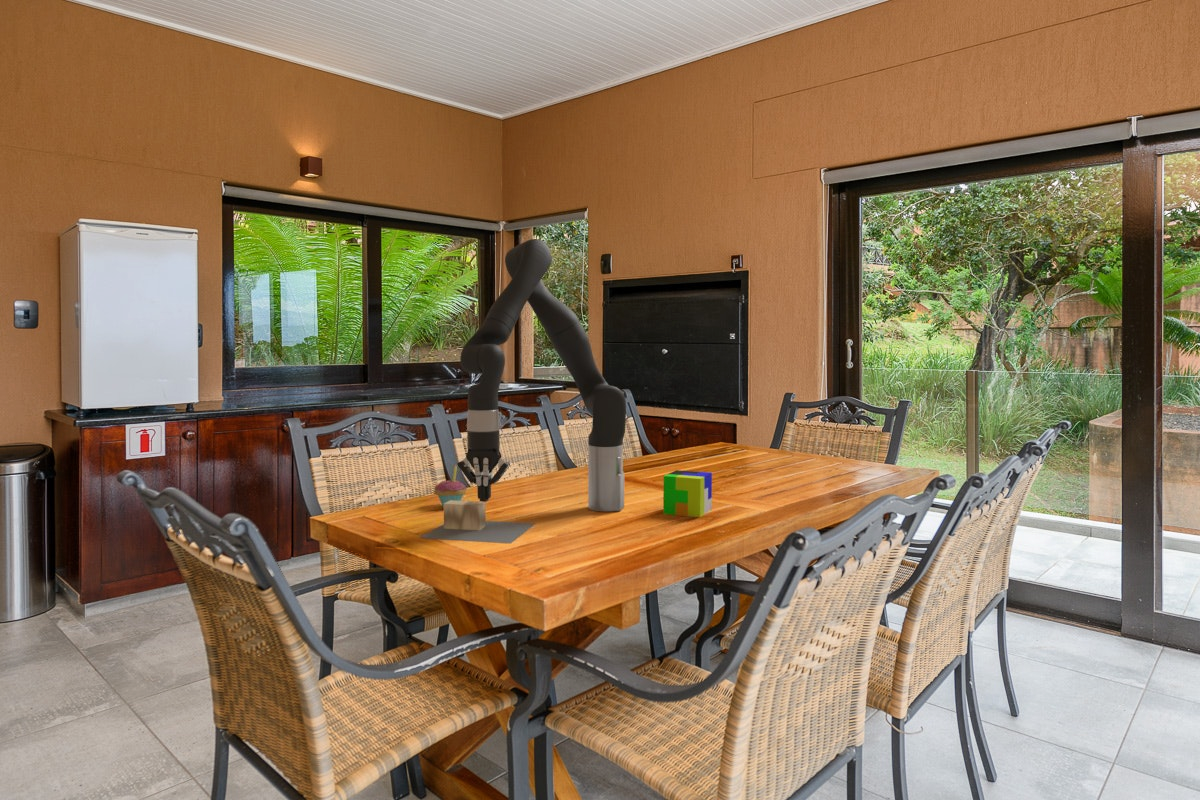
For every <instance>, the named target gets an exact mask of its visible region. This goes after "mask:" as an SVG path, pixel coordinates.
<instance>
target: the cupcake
mask: <svg viewBox="0 0 1200 800" xmlns="http://www.w3.org/2000/svg"><path fill="white" fill-rule="evenodd" d="M457 469H458V462H456V463H455V465H454V468H453V475H452V476H453V477H452V480H443V481H441V482H439V483H438V484H436V486H435V487H434V491H433V493H434V494H435V495H437V497H438V498H439V501H440V503H441V506H443V508H444V503H446V502H448V501H450V500H454V501H463V497H464V495H465V494H466V491H467V489H468V488H467V486H466V485H465V484H464V483H463V482H461V481H459V480H456V478H457V477H456V476H457Z"/></svg>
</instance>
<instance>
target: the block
mask: <svg viewBox="0 0 1200 800" xmlns="http://www.w3.org/2000/svg"><path fill="white" fill-rule="evenodd" d="M486 521H487V520H486V502H483V501H473V500H472V501H471V500H461V501H454V500H450V501H448V502H446V503H444V507H443V524H444V529H462V530H481V529H482V528H484V527H485V526H486Z"/></svg>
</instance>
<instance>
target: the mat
mask: <svg viewBox="0 0 1200 800" xmlns="http://www.w3.org/2000/svg"><path fill="white" fill-rule="evenodd" d="M536 524H537V523H534V522H517V521H516V522H515V521H514V522H512V521H496V520H486V526H485V527H484V528H482V529H481V530H462V529H444V523H442V524H441V525H439V526H437V527H436V528H433V529H431V531H429V532H426V533H425V534H423V535H421V536H419V537H418V539H426V540H427V539H428V540H443V541H444V540H445V541H458V542H459V541H463V542H476V543H477V542H478V543H479V542H480V543H481V542H482V543H493V544H494V543H497V544H512V543H514V542H515V541H516V540H517V539H518V538H520V537H521V536H522V535H523V534H525V533H527V531H529V530H531V528H532V527H534V526H535V525H536Z"/></svg>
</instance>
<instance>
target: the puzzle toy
mask: <svg viewBox="0 0 1200 800" xmlns="http://www.w3.org/2000/svg"><path fill="white" fill-rule="evenodd" d="M712 480H713V473H712V472H705V471H691V470H679V469H677V470H673V471H672V472H669V473H668V474H665V475H663V503H662V504H663V507H662V508H663V510H662V511H663V512H662V513H663V514H664V515H673V516H674V515H675V516H684V517H685V516H686V517H694V518H701V517H703V516H705V515H706V514H707V513H709V512H710V511H712V510H713V509H712V501H713V500H712V499H713V498H712V497H713V495H712V494H713V493H712V492H713V491H712V490H713V489H712V488H713V486H712V484H713V481H712Z"/></svg>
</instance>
